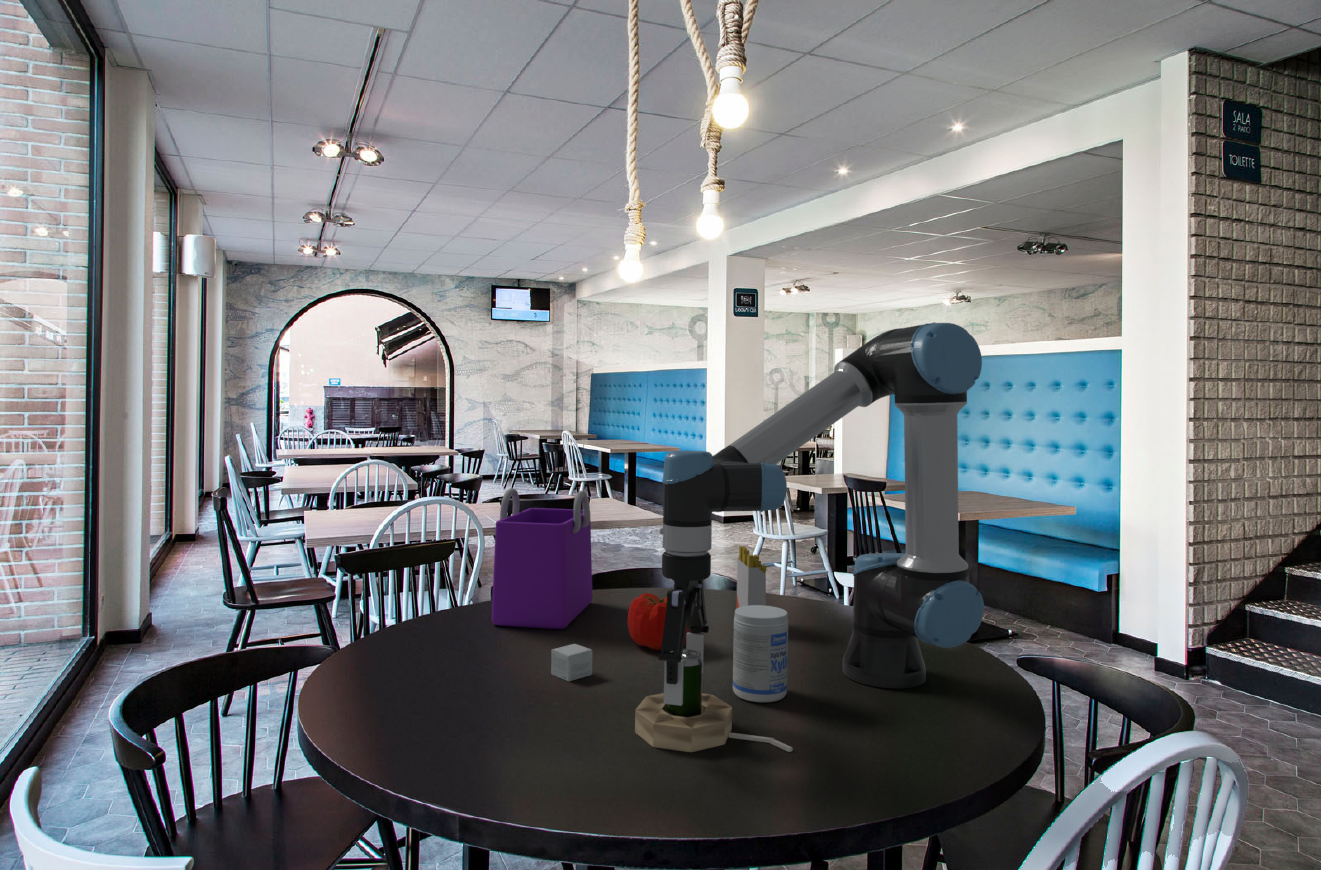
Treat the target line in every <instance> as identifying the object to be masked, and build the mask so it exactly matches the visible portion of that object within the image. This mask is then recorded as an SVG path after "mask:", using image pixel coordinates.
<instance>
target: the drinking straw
mask: <svg viewBox="0 0 1321 870" xmlns="http://www.w3.org/2000/svg"><path fill="white" fill-rule="evenodd" d="M728 738H729V739H738V740H746V741H754V742H760V743H769V744H770V745H773V746H775V747H777V748H779V749H782V750H783V751H786V752H789V753H792V752H793V746H790V745H789V744H788V745H787V744H786V743H784V742H781V741H779V740H777V739H775V737H767V736H761V735H759V736H758V735H751V734H745V733H736V732H729V735H728Z"/></svg>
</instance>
